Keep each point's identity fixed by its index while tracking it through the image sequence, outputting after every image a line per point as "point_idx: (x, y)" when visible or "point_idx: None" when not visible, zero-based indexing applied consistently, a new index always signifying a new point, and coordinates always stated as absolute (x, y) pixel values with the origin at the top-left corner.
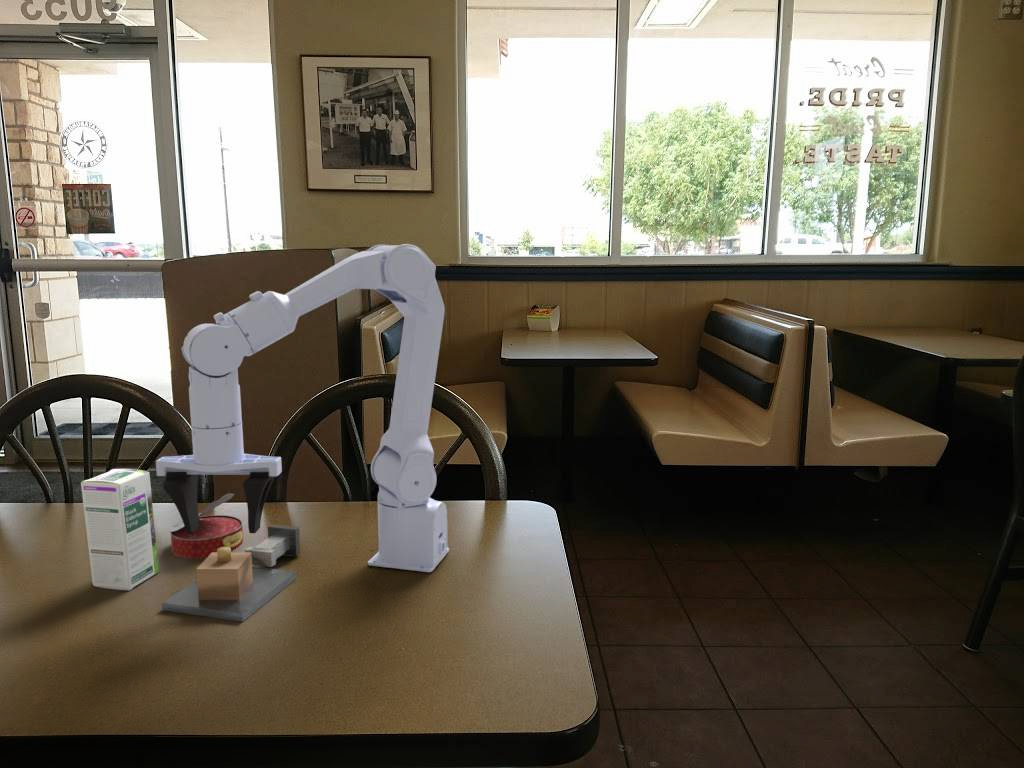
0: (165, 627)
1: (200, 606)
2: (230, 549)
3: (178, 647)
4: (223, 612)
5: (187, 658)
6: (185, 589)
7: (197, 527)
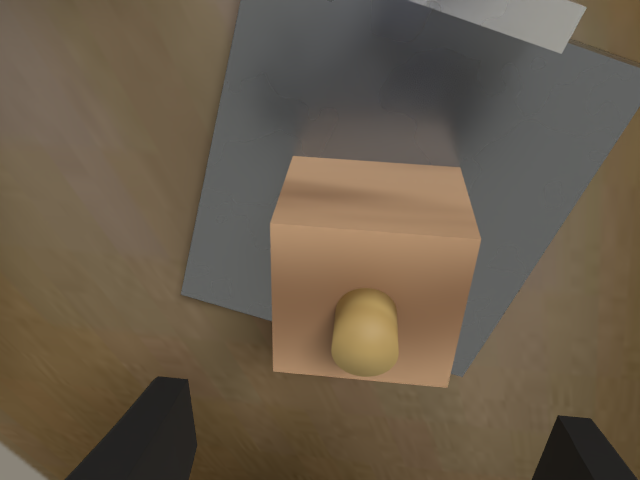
0: (248, 359)
1: None
2: (398, 352)
3: (324, 435)
4: None
5: (362, 469)
6: (210, 214)
7: (187, 393)
